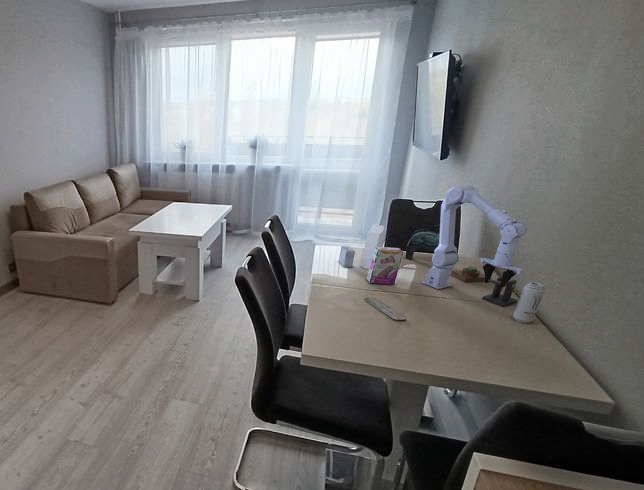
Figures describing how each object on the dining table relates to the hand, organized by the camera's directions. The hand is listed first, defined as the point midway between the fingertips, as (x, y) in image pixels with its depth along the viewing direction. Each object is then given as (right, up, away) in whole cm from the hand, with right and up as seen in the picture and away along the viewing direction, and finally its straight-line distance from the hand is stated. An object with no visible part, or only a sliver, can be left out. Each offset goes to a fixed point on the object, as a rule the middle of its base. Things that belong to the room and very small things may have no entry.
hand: (494, 284), depth 167 cm
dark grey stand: (+8, -7, +7) cm, 12 cm away
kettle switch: (+4, 0, +2) cm, 5 cm away
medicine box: (-43, +10, +43) cm, 62 cm away
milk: (-32, +9, +40) cm, 52 cm away
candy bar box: (-35, +1, +22) cm, 42 cm away
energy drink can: (+4, -14, -9) cm, 17 cm away
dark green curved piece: (+2, +12, +51) cm, 52 cm away
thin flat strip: (-46, -10, -3) cm, 47 cm away
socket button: (+11, +7, +29) cm, 31 cm away
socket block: (+11, +3, +30) cm, 32 cm away
